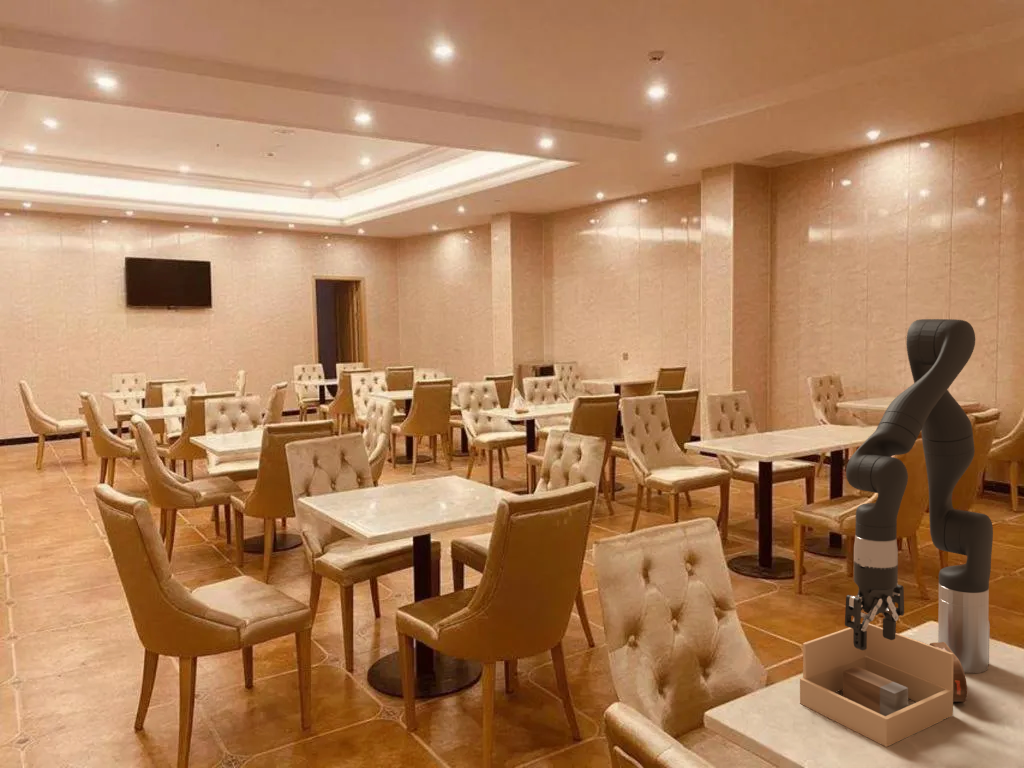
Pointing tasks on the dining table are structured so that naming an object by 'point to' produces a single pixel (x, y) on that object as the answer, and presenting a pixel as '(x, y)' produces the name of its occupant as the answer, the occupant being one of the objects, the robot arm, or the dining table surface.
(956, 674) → the tin
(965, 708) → the dining table surface
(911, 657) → the carton
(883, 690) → the box
